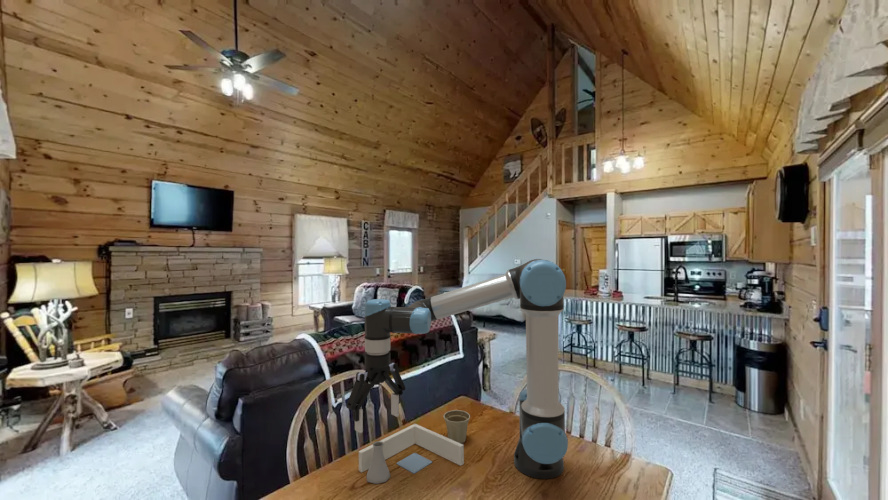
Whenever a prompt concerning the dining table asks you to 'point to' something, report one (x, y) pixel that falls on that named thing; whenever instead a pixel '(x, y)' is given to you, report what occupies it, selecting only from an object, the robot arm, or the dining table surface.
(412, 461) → the pad
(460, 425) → the flower pot
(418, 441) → the corner wall
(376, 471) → the flask
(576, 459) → the dining table surface
